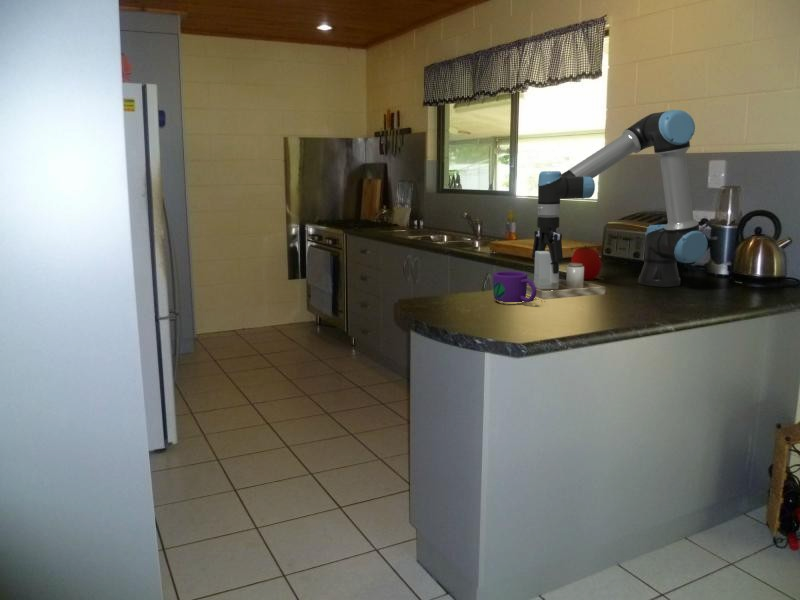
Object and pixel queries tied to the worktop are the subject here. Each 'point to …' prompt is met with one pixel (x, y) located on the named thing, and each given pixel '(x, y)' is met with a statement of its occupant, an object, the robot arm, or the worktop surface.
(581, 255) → the tomato
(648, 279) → the robot arm
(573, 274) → the ceramic jar
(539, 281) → the supplement box
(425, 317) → the worktop surface
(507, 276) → the mug
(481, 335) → the worktop surface
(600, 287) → the rack
